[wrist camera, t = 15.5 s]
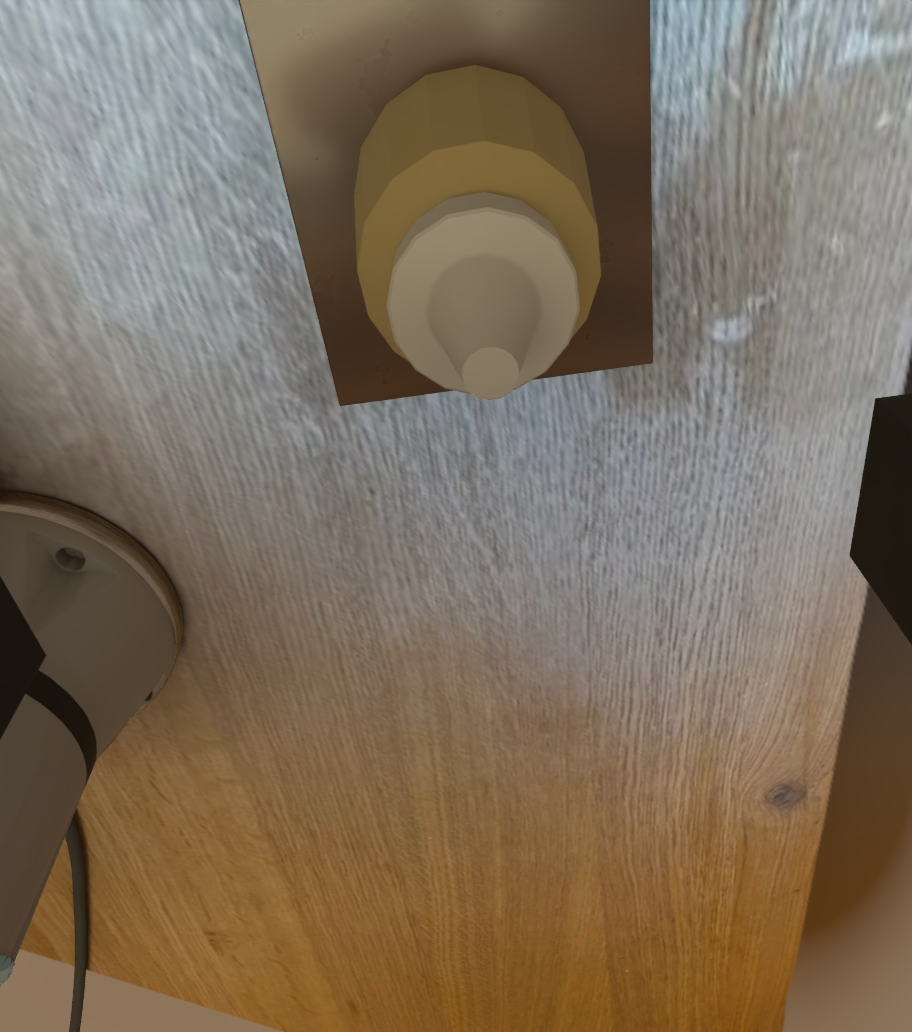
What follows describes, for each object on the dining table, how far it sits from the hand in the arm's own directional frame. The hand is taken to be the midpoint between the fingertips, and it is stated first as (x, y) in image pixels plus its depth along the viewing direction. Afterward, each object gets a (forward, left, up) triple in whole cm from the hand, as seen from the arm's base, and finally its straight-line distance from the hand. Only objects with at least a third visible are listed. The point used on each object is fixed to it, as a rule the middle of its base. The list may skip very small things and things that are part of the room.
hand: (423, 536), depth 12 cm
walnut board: (0, -1, -25) cm, 25 cm away
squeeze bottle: (0, -1, -24) cm, 24 cm away
